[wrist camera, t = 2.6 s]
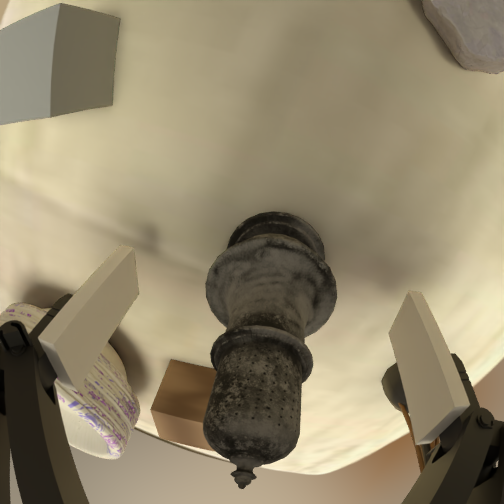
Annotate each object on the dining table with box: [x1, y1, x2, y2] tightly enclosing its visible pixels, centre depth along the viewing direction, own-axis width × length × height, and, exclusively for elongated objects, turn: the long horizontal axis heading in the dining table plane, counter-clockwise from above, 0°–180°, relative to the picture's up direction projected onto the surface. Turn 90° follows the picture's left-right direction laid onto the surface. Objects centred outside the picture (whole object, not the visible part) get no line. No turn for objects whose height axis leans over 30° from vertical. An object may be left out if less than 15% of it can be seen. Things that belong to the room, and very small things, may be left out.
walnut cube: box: [150, 359, 217, 451], centre depth 21 cm, size 5×5×5 cm
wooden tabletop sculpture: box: [382, 363, 439, 473], centre depth 11 cm, size 6×5×20 cm
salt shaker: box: [203, 212, 337, 489], centre depth 11 cm, size 6×6×12 cm
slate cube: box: [0, 3, 120, 125], centre depth 10 cm, size 5×5×5 cm
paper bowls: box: [0, 303, 140, 459], centre depth 20 cm, size 15×15×8 cm
